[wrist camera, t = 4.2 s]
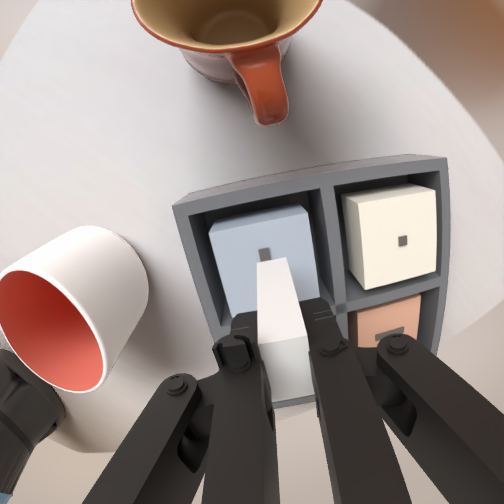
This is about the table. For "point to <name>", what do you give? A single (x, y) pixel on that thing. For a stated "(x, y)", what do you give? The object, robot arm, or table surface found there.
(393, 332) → the terracotta key
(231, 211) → the grey compartment tray
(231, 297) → the slate key
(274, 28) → the mug
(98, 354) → the cup
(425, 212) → the cream key
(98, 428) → the table surface
